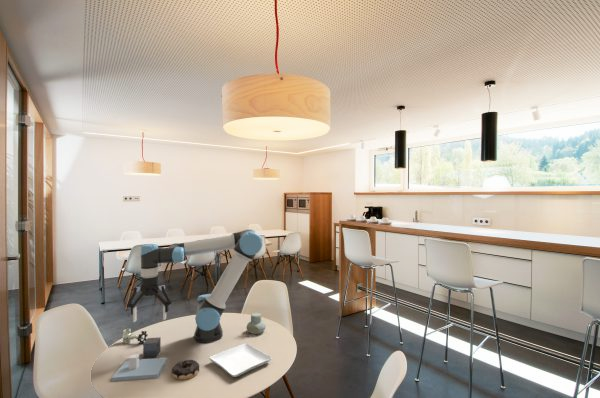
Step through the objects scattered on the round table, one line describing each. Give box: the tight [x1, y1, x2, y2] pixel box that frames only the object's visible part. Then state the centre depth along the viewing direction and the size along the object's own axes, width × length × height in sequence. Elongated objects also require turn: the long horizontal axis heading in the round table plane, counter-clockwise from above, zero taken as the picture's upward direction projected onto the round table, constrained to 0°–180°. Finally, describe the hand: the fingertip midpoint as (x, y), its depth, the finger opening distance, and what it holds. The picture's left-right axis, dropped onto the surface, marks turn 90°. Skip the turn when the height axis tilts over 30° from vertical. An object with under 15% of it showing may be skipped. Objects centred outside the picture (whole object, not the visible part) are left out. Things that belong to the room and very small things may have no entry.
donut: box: [171, 359, 200, 381], centre depth 132 cm, size 11×12×4 cm
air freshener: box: [245, 312, 267, 335], centre depth 175 cm, size 11×8×10 cm
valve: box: [122, 328, 148, 345], centre depth 161 cm, size 7×7×12 cm
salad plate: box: [208, 343, 272, 378], centre depth 140 cm, size 21×21×3 cm
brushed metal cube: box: [142, 337, 162, 359], centre depth 148 cm, size 6×6×7 cm
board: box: [111, 353, 168, 382], centre depth 134 cm, size 18×14×6 cm
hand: (150, 320), depth 149 cm, fingers open, 13 cm apart
